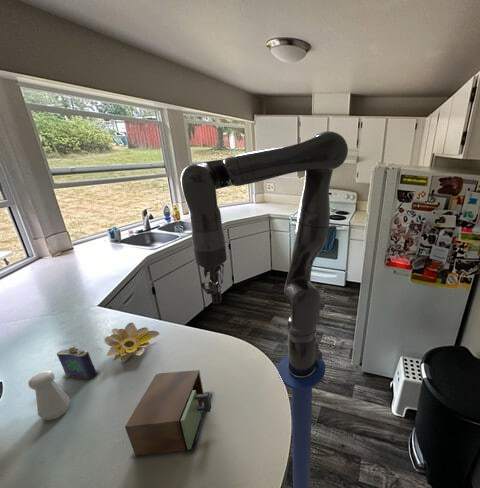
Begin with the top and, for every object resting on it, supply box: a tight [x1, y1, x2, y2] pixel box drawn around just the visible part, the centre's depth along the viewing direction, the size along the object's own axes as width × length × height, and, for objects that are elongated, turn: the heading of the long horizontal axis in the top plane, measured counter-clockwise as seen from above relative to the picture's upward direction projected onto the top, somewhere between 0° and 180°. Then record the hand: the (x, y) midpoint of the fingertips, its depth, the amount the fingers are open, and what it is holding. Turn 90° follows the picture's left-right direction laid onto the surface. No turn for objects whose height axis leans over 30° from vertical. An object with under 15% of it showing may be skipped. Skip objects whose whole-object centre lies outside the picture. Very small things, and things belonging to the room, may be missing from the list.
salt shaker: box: [28, 370, 71, 421], centre depth 64 cm, size 6×6×13 cm
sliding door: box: [181, 390, 212, 449], centre depth 61 cm, size 4×8×10 cm, turn 8°
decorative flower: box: [103, 322, 161, 363], centre depth 85 cm, size 15×11×10 cm
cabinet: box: [124, 369, 212, 457], centre depth 63 cm, size 13×15×10 cm
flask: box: [56, 344, 98, 380], centre depth 76 cm, size 9×3×11 cm, turn 85°
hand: (217, 302), depth 70 cm, fingers closed
